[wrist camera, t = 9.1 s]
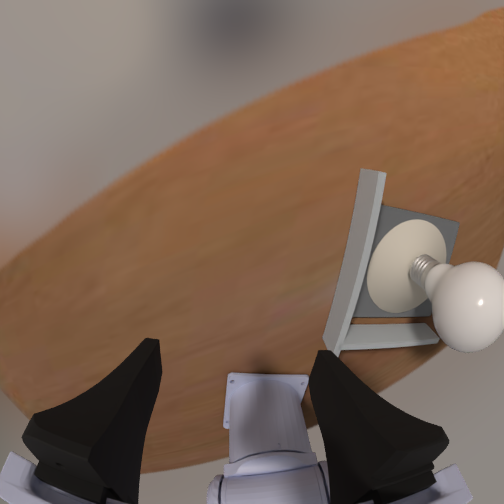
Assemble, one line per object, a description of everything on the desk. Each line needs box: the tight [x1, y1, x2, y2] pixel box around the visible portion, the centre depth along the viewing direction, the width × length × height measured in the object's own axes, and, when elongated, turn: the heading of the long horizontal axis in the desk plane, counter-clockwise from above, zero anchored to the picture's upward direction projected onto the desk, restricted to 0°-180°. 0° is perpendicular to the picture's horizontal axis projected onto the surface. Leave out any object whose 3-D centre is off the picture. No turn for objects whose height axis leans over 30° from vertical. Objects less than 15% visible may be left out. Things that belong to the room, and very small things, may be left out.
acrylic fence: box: [322, 168, 440, 357], centre depth 21 cm, size 15×12×3 cm
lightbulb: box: [410, 254, 504, 353], centre depth 17 cm, size 6×6×11 cm
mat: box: [352, 205, 460, 317], centre depth 22 cm, size 10×10×1 cm
